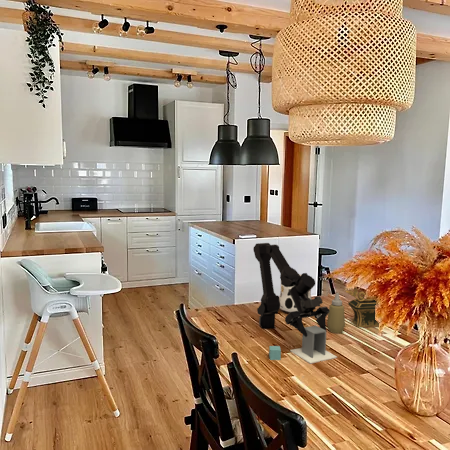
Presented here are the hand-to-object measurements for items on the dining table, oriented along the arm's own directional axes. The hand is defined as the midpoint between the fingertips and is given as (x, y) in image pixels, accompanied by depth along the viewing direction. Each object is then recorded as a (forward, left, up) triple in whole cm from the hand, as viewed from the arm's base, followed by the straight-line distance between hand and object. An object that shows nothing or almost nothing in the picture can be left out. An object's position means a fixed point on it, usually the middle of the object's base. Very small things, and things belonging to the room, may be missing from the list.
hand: (316, 334), depth 170 cm
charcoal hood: (0, -1, -8) cm, 8 cm away
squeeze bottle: (-18, -25, -9) cm, 32 cm away
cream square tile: (0, -1, -9) cm, 9 cm away
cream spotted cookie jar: (-7, -55, -9) cm, 56 cm away
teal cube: (+16, +1, -9) cm, 19 cm away
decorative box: (-35, -33, -9) cm, 49 cm away
